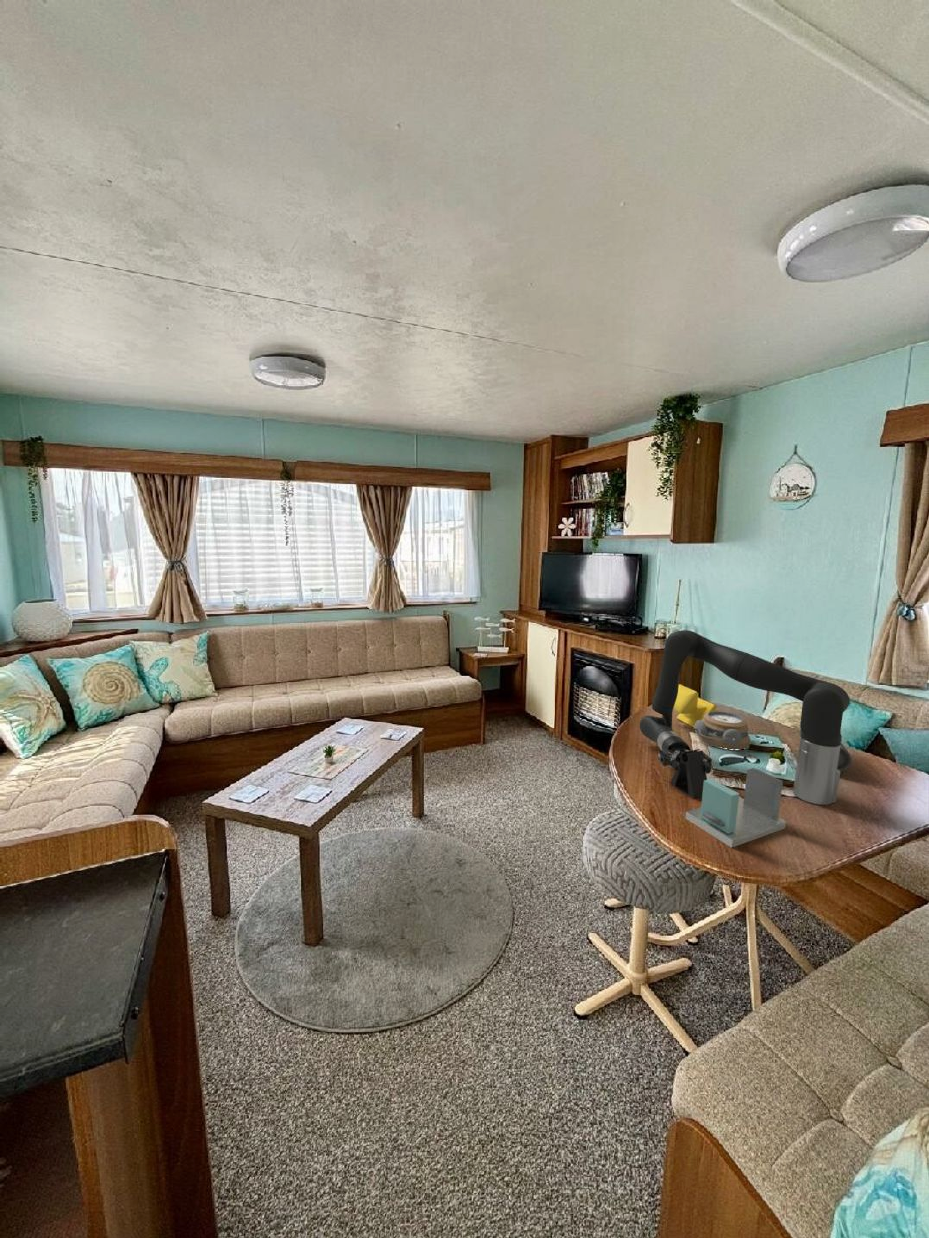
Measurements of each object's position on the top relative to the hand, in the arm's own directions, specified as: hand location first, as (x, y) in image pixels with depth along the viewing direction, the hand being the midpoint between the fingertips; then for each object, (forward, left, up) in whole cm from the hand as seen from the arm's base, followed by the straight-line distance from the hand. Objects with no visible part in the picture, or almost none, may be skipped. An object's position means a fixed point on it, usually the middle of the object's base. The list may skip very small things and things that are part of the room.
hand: (694, 770), depth 142 cm
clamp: (-26, -56, -7) cm, 62 cm away
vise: (-6, +16, -7) cm, 18 cm away
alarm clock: (-25, -37, -7) cm, 45 cm away
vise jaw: (+2, +20, -5) cm, 20 cm away
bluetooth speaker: (-53, -25, -7) cm, 59 cm away
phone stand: (0, -2, -7) cm, 8 cm away
